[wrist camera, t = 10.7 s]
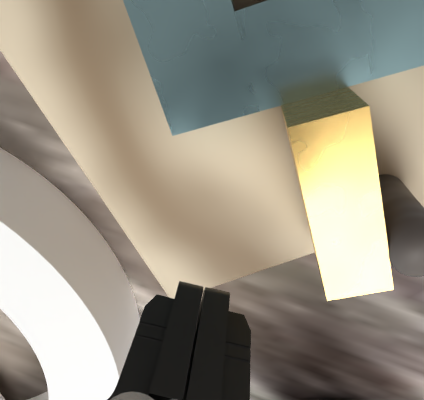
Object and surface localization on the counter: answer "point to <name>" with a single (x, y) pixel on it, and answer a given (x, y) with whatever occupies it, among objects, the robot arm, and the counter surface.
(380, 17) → the t-shaped piece
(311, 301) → the counter surface
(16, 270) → the white circle with bar
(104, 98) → the base board
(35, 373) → the counter surface
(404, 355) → the counter surface
